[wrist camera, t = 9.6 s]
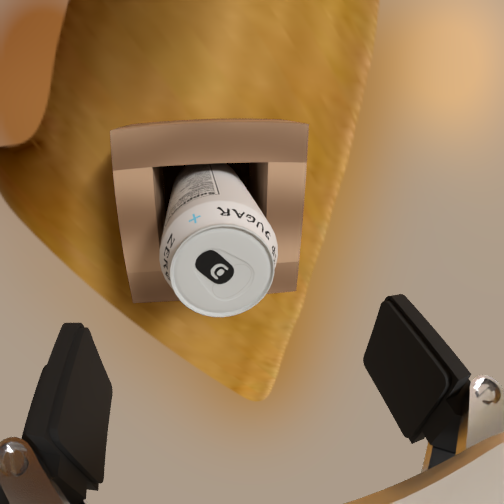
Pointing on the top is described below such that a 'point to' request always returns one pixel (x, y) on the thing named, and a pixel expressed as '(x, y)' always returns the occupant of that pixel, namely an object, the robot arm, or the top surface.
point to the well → (206, 152)
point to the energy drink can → (216, 242)
